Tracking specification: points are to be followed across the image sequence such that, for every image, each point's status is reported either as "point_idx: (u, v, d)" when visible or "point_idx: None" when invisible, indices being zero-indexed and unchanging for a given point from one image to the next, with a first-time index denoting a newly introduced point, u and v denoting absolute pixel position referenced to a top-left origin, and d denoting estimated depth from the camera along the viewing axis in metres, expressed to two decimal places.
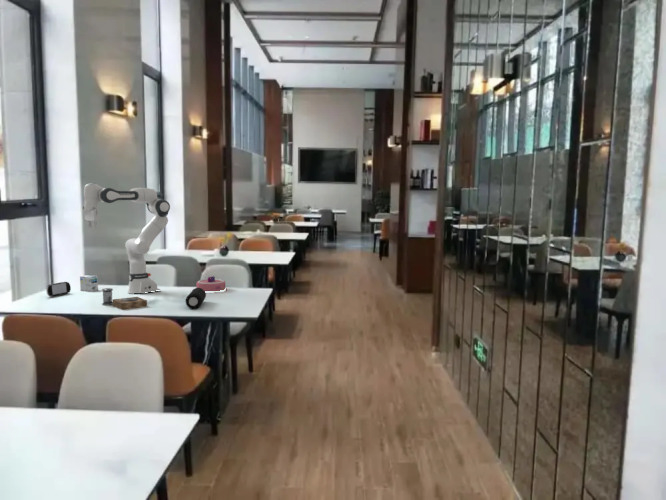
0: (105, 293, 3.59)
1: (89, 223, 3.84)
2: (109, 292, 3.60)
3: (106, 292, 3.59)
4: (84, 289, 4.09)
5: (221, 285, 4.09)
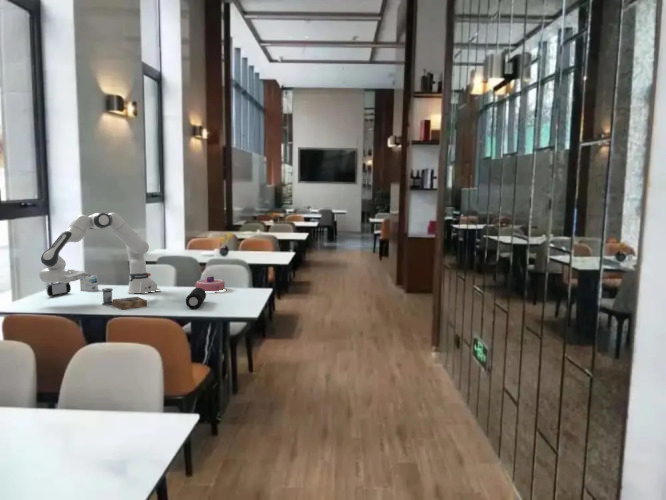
0: (105, 293, 3.59)
1: (87, 275, 3.65)
2: (109, 292, 3.60)
3: (106, 292, 3.59)
4: (84, 289, 4.09)
5: (220, 285, 4.09)
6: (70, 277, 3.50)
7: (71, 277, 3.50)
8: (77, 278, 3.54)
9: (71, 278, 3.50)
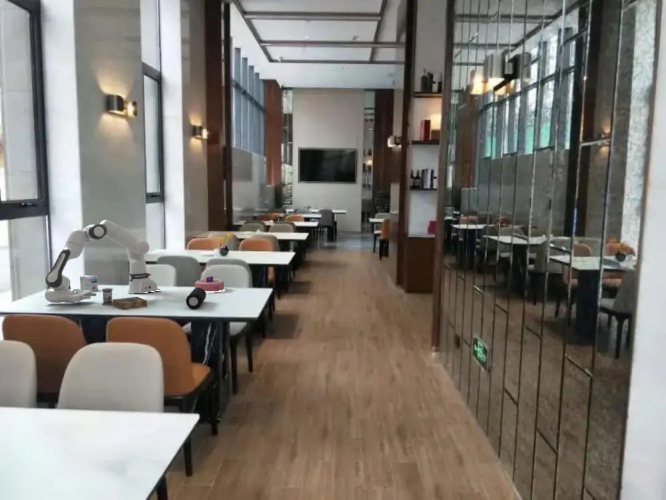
0: (105, 293, 3.59)
1: (92, 294, 3.67)
2: (109, 292, 3.60)
3: (106, 292, 3.59)
4: (84, 289, 4.09)
5: (219, 286, 4.09)
6: (75, 297, 3.52)
7: (76, 297, 3.52)
8: (82, 298, 3.55)
9: (76, 298, 3.52)
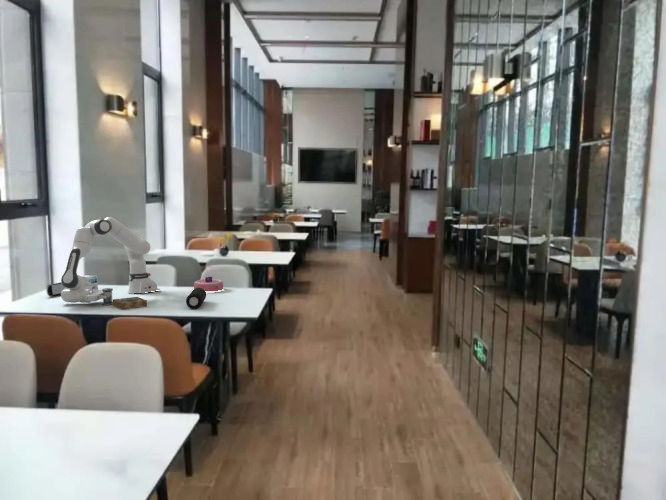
0: (105, 293, 3.59)
1: None
2: (109, 292, 3.60)
3: (106, 292, 3.59)
4: None
5: (218, 286, 4.09)
6: (92, 297, 3.51)
7: (93, 297, 3.51)
8: (99, 297, 3.56)
9: (93, 298, 3.52)
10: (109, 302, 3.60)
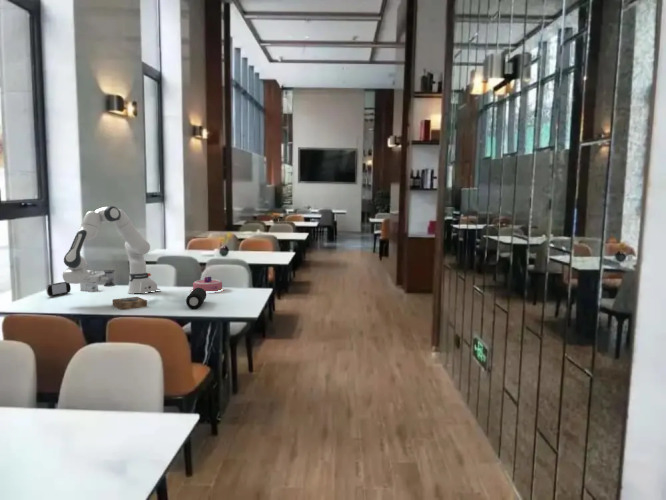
0: (107, 274, 3.57)
1: None
2: (111, 273, 3.58)
3: (108, 273, 3.57)
4: (84, 289, 4.09)
5: (218, 286, 4.09)
6: (93, 278, 3.50)
7: (94, 278, 3.50)
8: (101, 279, 3.55)
9: (94, 279, 3.50)
10: (111, 283, 3.58)
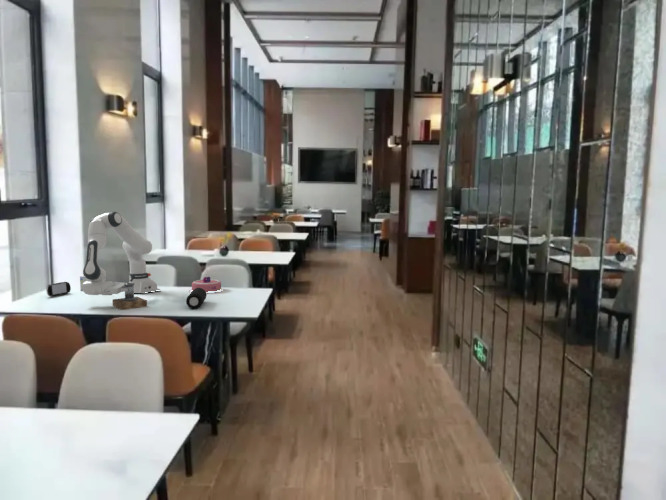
0: None
1: None
2: (131, 287, 3.54)
3: (128, 287, 3.53)
4: None
5: (216, 286, 4.08)
6: (114, 289, 3.46)
7: (115, 289, 3.46)
8: (120, 290, 3.50)
9: (115, 290, 3.46)
10: (131, 297, 3.55)
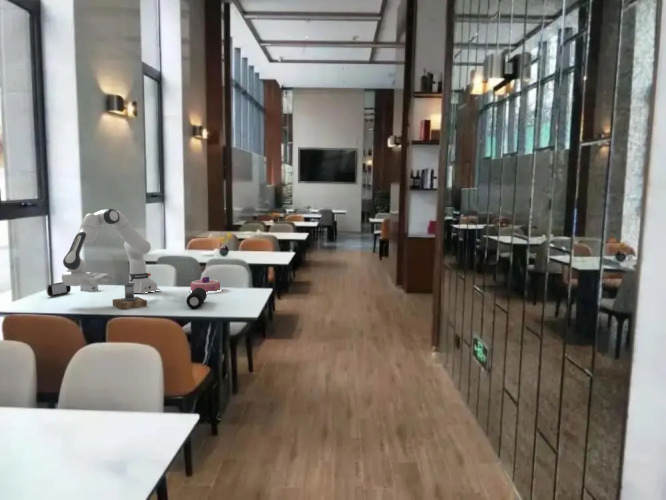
0: (127, 288, 3.54)
1: (109, 277, 3.61)
2: (131, 287, 3.54)
3: (128, 287, 3.54)
4: (84, 289, 4.09)
5: (215, 286, 4.08)
6: (93, 280, 3.46)
7: (94, 280, 3.46)
8: (100, 281, 3.49)
9: (94, 281, 3.46)
10: (131, 297, 3.55)
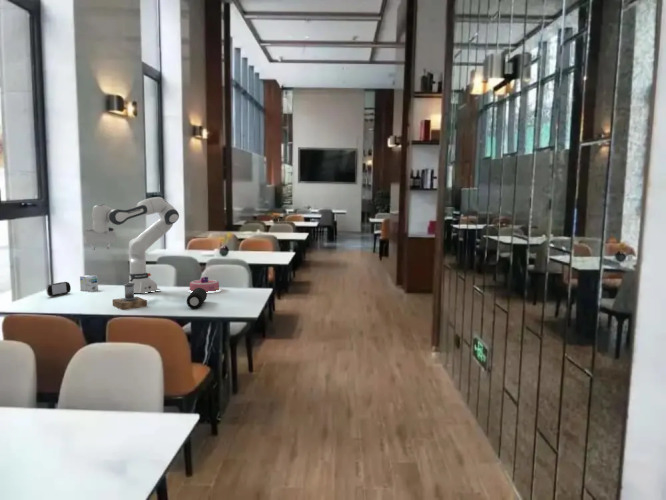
0: (127, 288, 3.54)
1: (108, 245, 3.75)
2: (131, 287, 3.54)
3: (128, 287, 3.54)
4: (84, 289, 4.09)
5: (214, 286, 4.07)
6: (85, 240, 3.64)
7: (85, 241, 3.64)
8: (90, 244, 3.68)
9: (84, 241, 3.65)
10: (131, 297, 3.55)
